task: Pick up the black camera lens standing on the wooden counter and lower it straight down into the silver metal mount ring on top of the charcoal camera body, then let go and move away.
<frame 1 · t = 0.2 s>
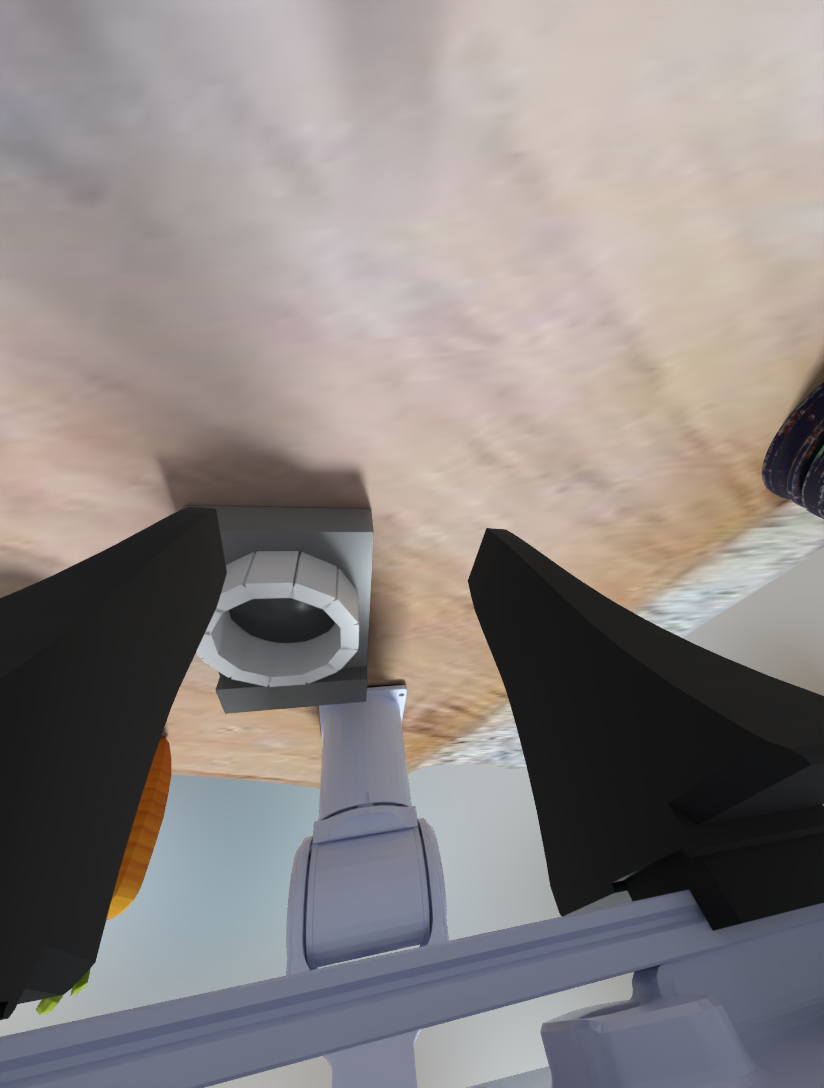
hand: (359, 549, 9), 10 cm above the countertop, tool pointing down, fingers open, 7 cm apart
camera body: (294, 601, 24), on the countertop
carrot: (164, 735, 31), on the countertop
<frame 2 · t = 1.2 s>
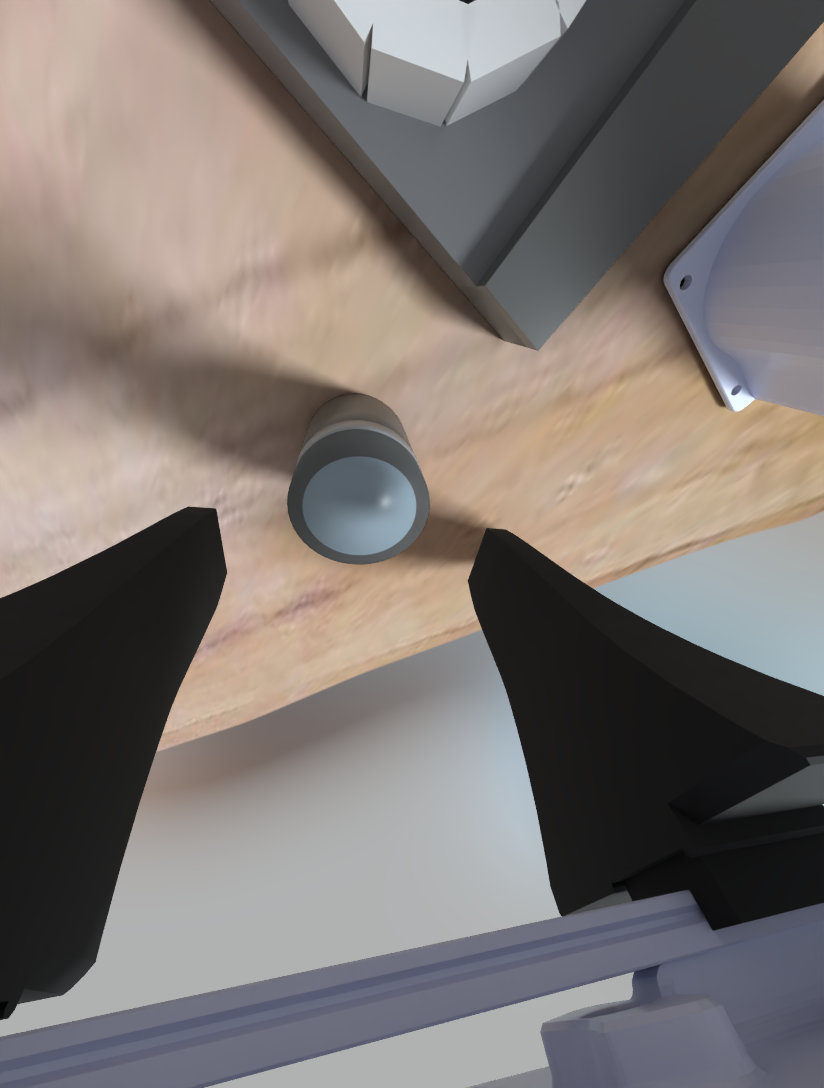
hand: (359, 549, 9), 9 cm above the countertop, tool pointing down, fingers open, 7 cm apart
camera body: (468, 2, 10), on the countertop
lens: (357, 446, 17), on the countertop
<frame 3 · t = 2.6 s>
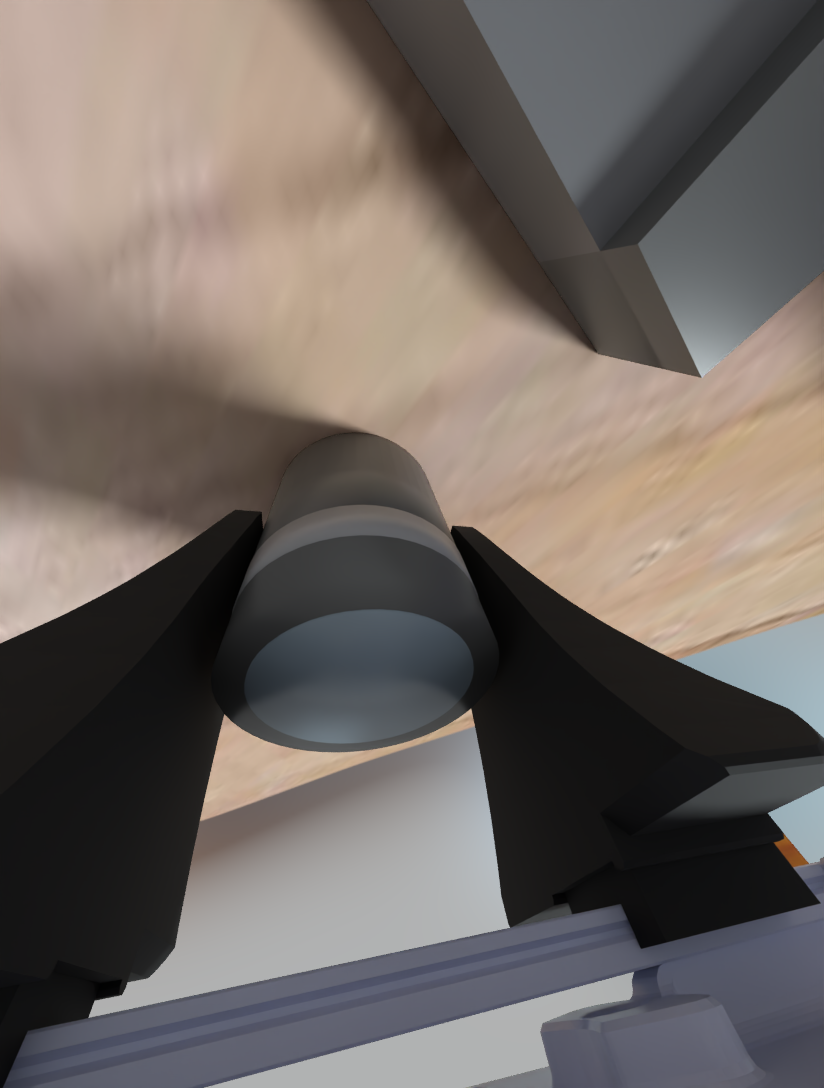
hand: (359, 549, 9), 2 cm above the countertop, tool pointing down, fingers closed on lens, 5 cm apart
carrot: (552, 627, 17), on the countertop
lens: (358, 507, 11), on the countertop, touching gripper
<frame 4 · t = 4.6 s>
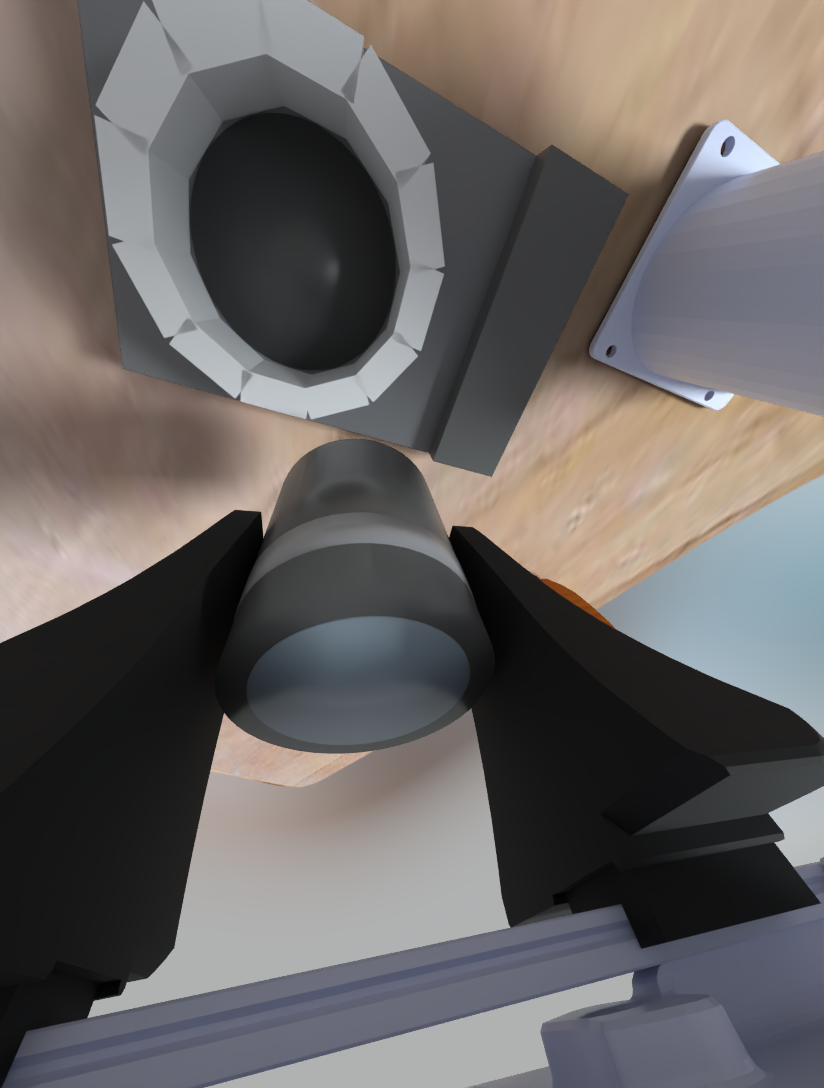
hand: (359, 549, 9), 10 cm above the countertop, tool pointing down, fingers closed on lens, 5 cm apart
camera body: (357, 288, 14), on the countertop
carrot: (537, 578, 26), on the countertop
lens: (358, 511, 11), point 7 cm above the countertop, touching gripper
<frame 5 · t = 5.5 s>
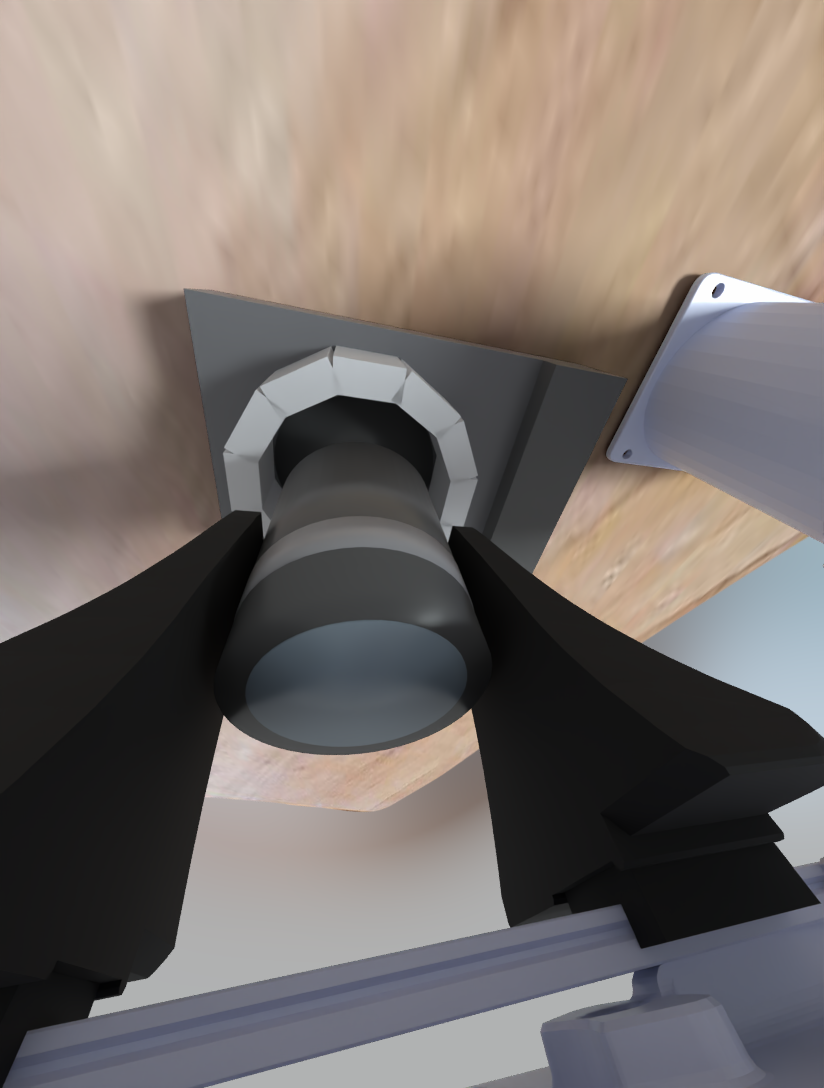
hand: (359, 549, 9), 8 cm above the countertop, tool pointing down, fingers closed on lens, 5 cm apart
camera body: (397, 450, 16), on the countertop
lens: (357, 514, 12), point 6 cm above the countertop, touching gripper
when the fingers open (6 cm above the countertop, at t = 6.5 s): lens stays where it is, resting on camera body.
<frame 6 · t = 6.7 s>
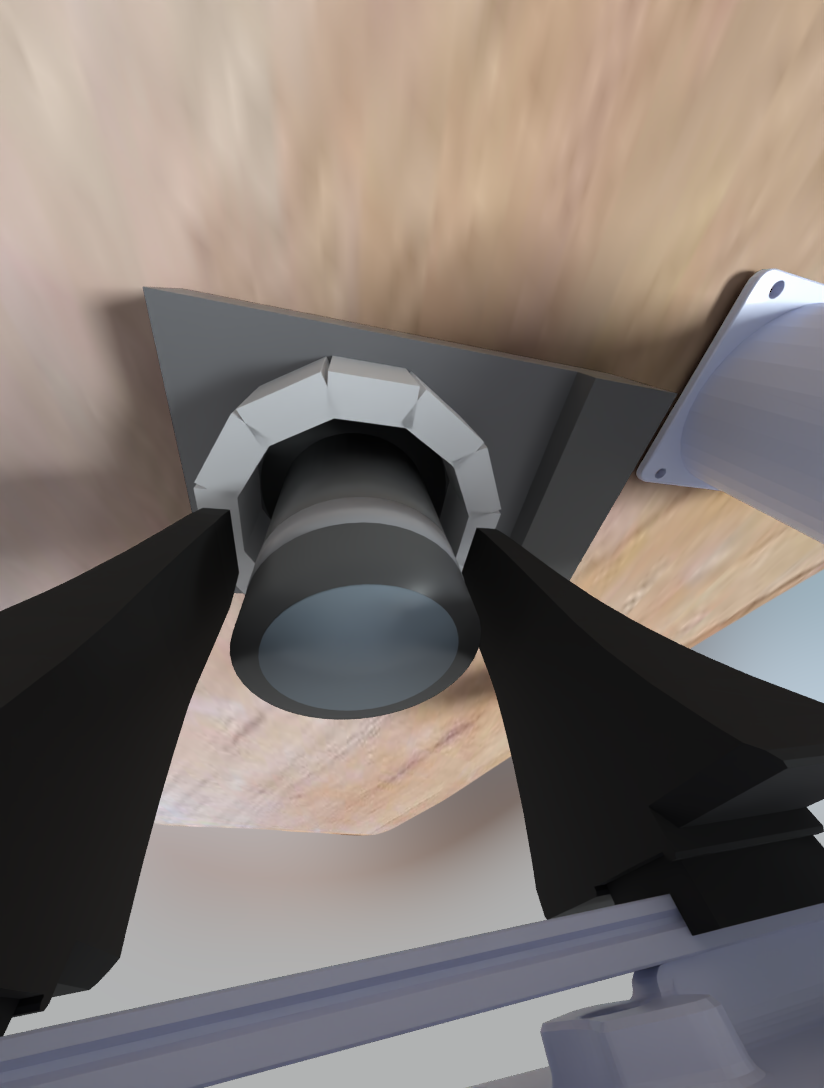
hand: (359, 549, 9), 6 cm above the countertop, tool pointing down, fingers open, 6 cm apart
camera body: (403, 471, 15), on the countertop
lens: (356, 502, 12), point 3 cm above the countertop, touching camera body
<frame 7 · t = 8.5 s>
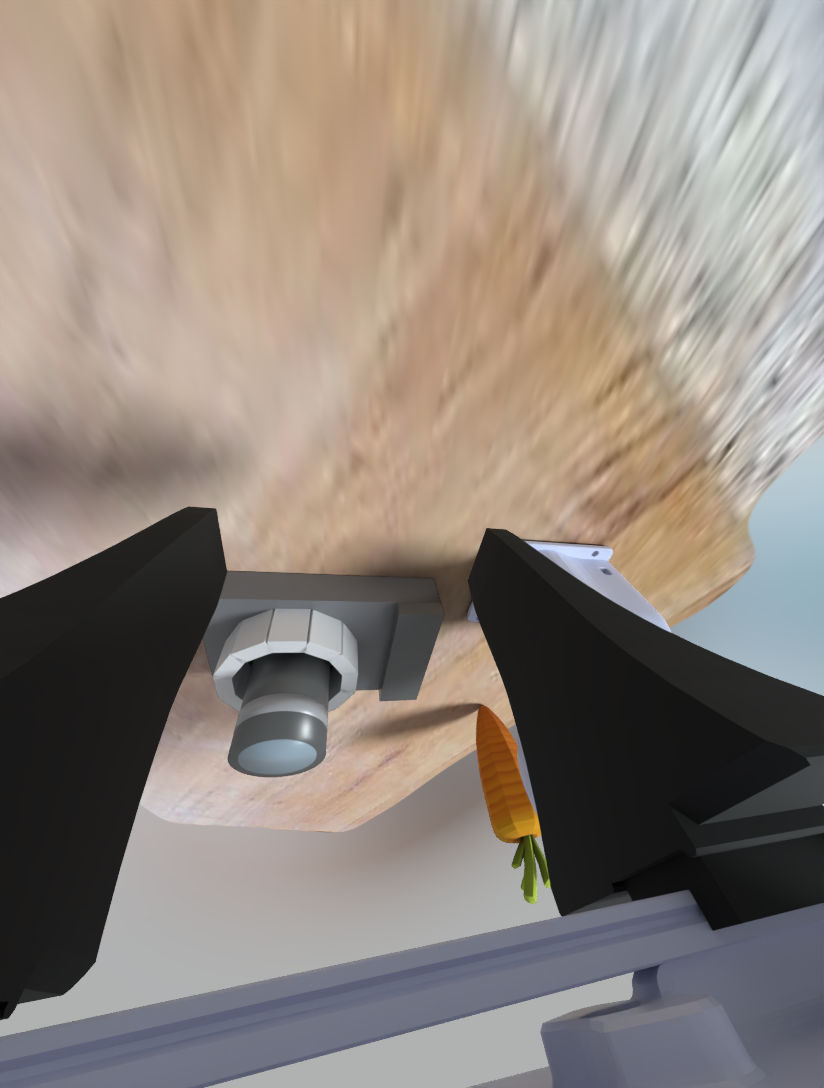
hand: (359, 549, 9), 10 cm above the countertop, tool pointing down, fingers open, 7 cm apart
camera body: (326, 624, 26), on the countertop
carrot: (481, 704, 37), on the countertop
lens: (294, 655, 24), point 3 cm above the countertop, touching camera body
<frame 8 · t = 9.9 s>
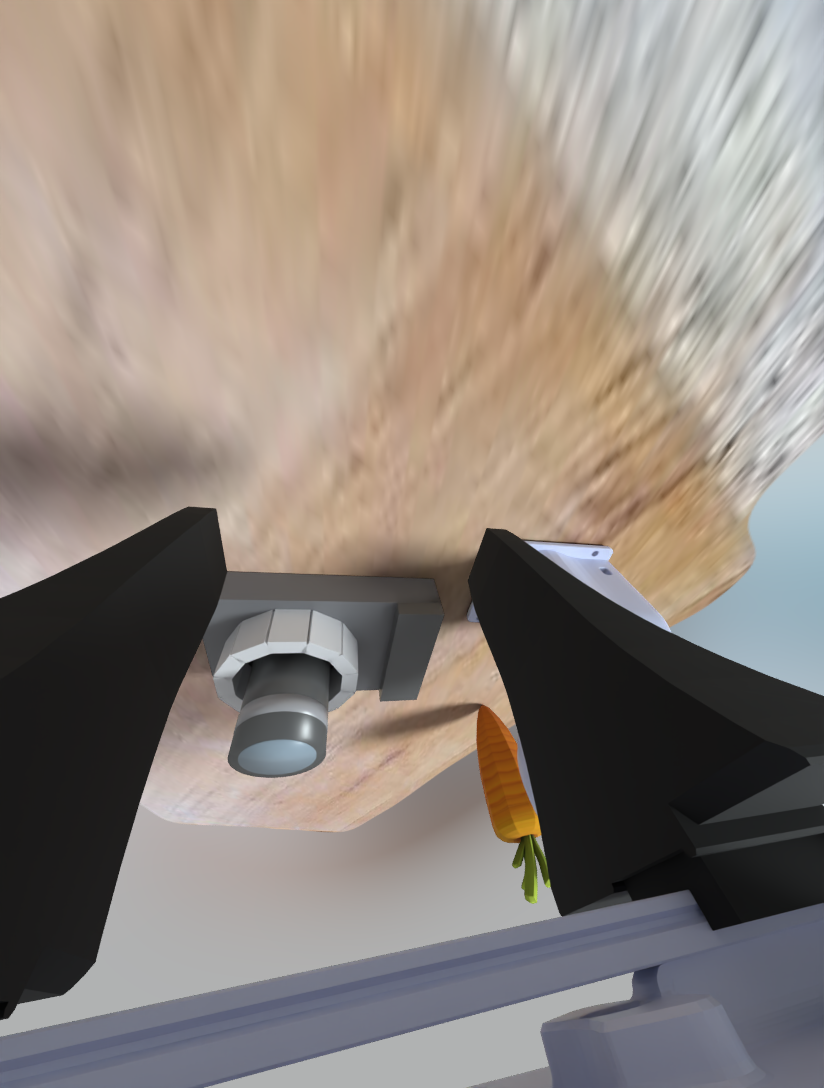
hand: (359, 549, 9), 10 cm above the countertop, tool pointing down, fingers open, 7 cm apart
camera body: (326, 624, 26), on the countertop
carrot: (481, 703, 37), on the countertop
lens: (294, 656, 24), point 3 cm above the countertop, touching camera body
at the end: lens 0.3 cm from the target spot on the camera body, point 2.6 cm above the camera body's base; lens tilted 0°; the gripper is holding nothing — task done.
